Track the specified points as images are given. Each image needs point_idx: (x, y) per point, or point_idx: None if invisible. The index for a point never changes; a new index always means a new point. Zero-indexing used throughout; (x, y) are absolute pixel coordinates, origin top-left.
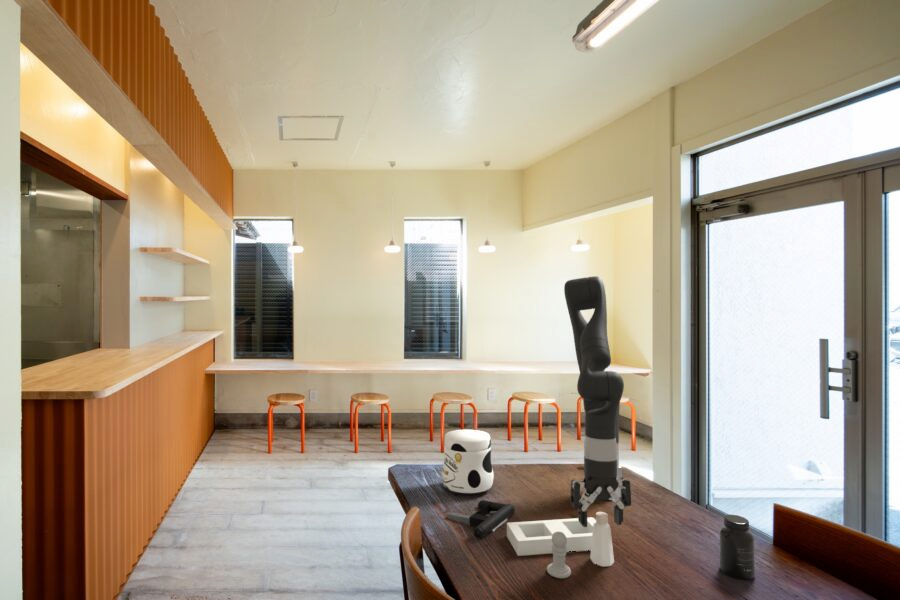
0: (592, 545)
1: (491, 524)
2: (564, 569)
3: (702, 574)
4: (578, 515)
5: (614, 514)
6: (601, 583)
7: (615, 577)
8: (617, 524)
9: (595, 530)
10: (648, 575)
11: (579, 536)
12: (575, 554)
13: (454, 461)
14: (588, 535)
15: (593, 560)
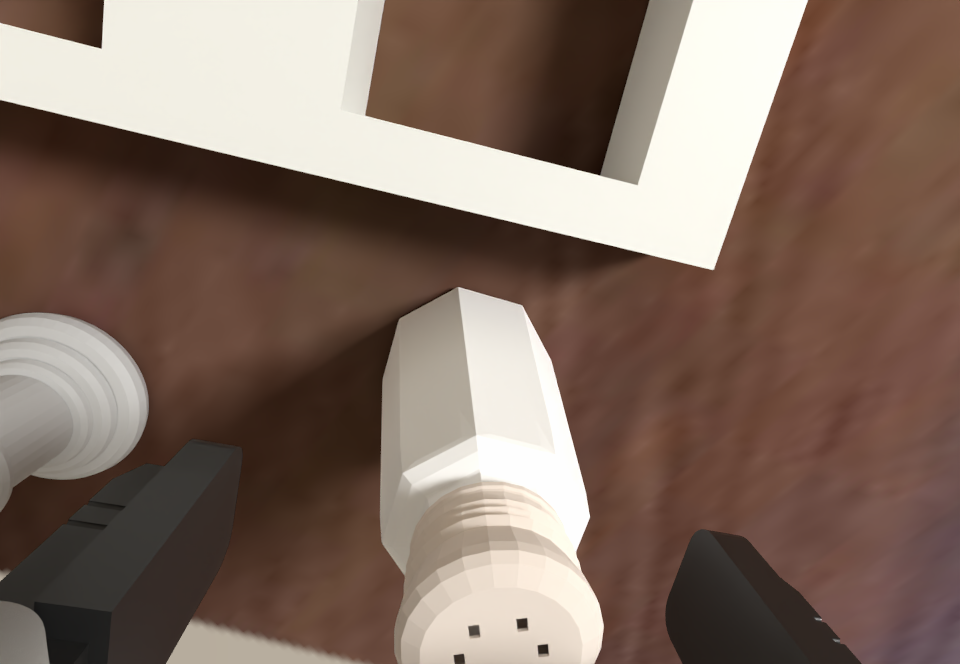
0: (393, 381)
1: None
2: (53, 464)
3: (890, 658)
4: (63, 527)
5: (751, 598)
6: (287, 568)
7: None
8: (671, 593)
9: (380, 506)
10: (616, 585)
11: (382, 186)
12: (331, 217)
13: None
14: (488, 201)
15: (382, 383)
